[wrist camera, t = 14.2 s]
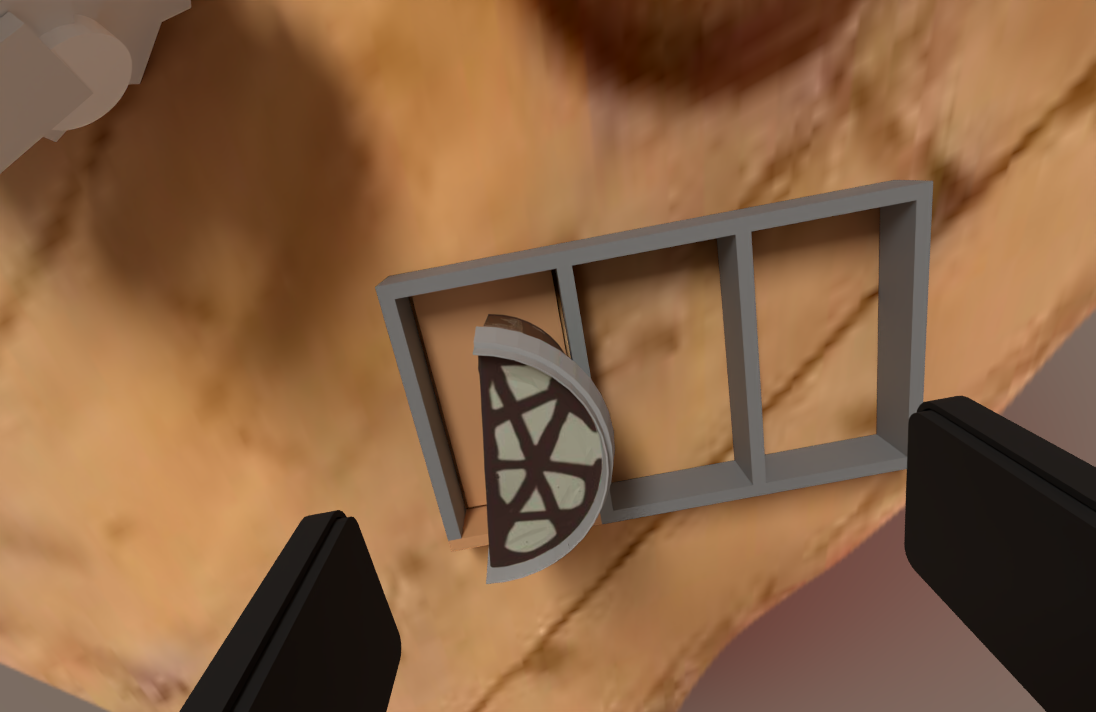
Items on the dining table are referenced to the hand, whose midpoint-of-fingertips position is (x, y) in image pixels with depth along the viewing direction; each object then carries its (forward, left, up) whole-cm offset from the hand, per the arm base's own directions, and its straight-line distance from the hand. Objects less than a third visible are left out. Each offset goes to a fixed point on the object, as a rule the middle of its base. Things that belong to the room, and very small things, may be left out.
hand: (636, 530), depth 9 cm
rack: (-5, +7, -23) cm, 25 cm away
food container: (+2, +7, -23) cm, 24 cm away
